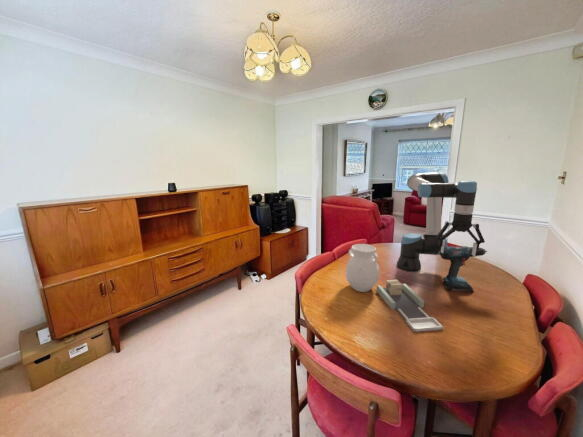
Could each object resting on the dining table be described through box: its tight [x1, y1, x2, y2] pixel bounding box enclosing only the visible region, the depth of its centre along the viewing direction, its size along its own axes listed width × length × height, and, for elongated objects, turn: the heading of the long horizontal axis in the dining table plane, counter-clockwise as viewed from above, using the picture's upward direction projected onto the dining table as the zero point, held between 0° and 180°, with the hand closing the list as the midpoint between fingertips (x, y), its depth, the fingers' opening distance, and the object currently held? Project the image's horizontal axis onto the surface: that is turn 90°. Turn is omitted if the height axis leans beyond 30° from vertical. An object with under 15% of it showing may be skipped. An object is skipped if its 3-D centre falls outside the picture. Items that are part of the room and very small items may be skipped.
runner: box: [382, 287, 431, 322], centre depth 129 cm, size 30×13×1 cm, turn 4°
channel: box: [376, 283, 425, 310], centre depth 132 cm, size 18×17×4 cm
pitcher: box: [345, 243, 380, 293], centre depth 142 cm, size 19×18×25 cm
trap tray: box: [405, 316, 444, 333], centre depth 111 cm, size 7×13×2 cm, turn 94°
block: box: [385, 279, 403, 295], centre depth 138 cm, size 6×6×6 cm
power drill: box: [439, 245, 488, 293], centre depth 140 cm, size 9×23×25 cm, turn 78°
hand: (457, 253), depth 126 cm, fingers open, 13 cm apart
